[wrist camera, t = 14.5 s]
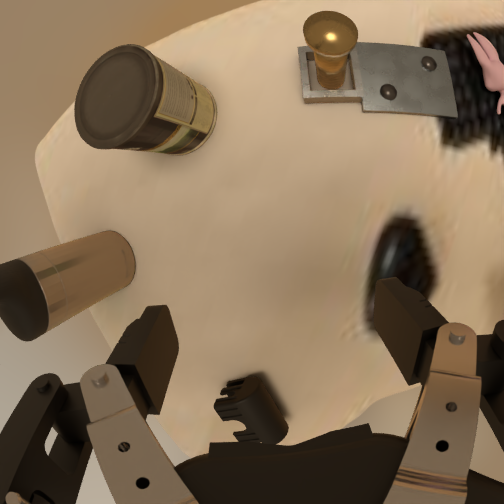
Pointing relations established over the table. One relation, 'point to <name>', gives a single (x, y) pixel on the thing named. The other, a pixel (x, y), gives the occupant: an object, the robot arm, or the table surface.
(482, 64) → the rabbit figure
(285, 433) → the end cap
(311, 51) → the grey tray fixture
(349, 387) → the table surface
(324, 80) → the hinge pin
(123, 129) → the coffee can
